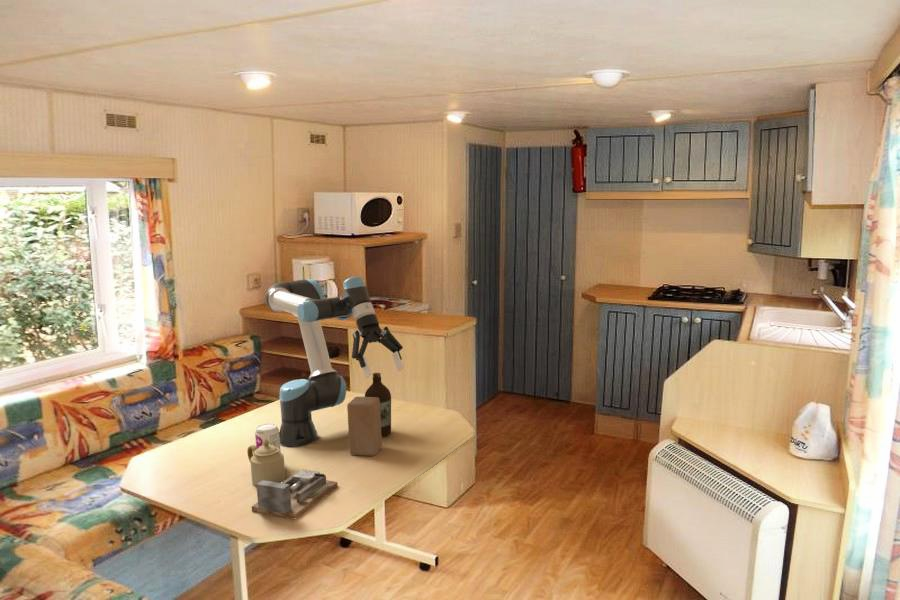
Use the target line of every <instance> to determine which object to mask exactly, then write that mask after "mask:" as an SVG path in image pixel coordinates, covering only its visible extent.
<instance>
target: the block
mask: <svg viewBox="0 0 900 600" xmlns="http://www.w3.org/2000/svg"><path fill="white" fill-rule="evenodd" d="M346 406H347V411H346V412H347V425H348V443H349V444H348V445H349V455H351V456H367V457H369V456H371V457H373V456H376V455H377V453H378V452H379V451H380V449H381V448H382V446H383V443H382V442H383V440H382V438H383V437H382V436H381V416H380V399H379V398H378V397H365V396H355V397H353V399H352V400H351V401H349V402H348V403H347V405H346Z"/></svg>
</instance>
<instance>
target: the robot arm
mask: <svg viewBox="0 0 900 600" xmlns="http://www.w3.org/2000/svg"><path fill="white" fill-rule="evenodd" d="M342 285H343V290H344V292H343V293H342V295H341V296H336V297H335V296H334V297H329V298H327V297H326V298H324V293H323V289H322V287H321V285H320V283H319V282H318V281H316V280H315V279H312V278H311V279H303V278H302V279H297V280H290V281H289V280H288V281H280V282H277V283H274V284H272V285H271V286H270V287H268V289H267V290H266V292H265V294H264V300H265V301H264V302H265V304H266V306H267V307H268V308H269V309H271V311H274V312H276V313H282V312H286V313H289V314H292V316H294V317H296V318H297V321H298V325H299V328H300V332H301V333H300V334H301V337H302V342H303V346H304V348H305V349H304V350H305V353H306V357H307V362H308V366H309V370H310V375H309V377H308V379H305V378H300V379H292V380H291V381H288V382H285V383H283V384H282V385H281V387H280V389H279V398H278V399H279V404H280V416H281V418H280V419H281V425H280V428H279V437H280V446H281V445H282V446H284V447H301V446H307V445H309V444H312V443H314V442H316V441H317V439H318V432H317V429H316V427H315V426H316V425H315V424H314V422H313V418H312V412H316V411H319V410H324V409H327V408H333V407H335V406H339V405H341V404H343V403H344V401H345V400H346V396H347V383H346V381H345V379H344V376H342V375H338V371H337V370H335V369H334V367H333V368H332V362H331V359H330V355H329V351H328V347H327V342H326V338H325V335H324V332H323V327H322V323H321V321H323V320H329V319H330V320H331V319H337V320H340V321H347V320H349V319H350V318H351V317H353V318H354V321H355V324H356V327H357V329H358V330H355V331H354V332H353V333H352V337H353V341H352V342H353V343H352V351H351V358H352V359H355V360H356V361H357V362H358V363H359V366H360V368H361V369H363V372H364V375H365V378H368V377H370V376H371V375H373V372H372V370H371V368H370V365H369V362H368V358H367V356H364V355H365V353H366V350H367V347H368V344H372V343H379V344H381V345H382V346H384V347H385V348H386V349H388V351H390V352H392V355H391V356H392V359H393V361H394V364H395V367H396V369H397V371H398V372H400V371H402V370H403V369H404V365H403V362H402V360H403V359H402V356H401V355H402V354H401V352H400V351H402V350H403V349H404V346H403V345H402V344H401V343H400V342H399V341H398V340H397V338H396V337H395V336H394V335H393V333H391V332H390V330H389V327H388V326H384V327H383V328H381V327H380V323H379V320H378V317H377V314H376V311H375V309H374V306H373V303H372V301H371V297H370V295H369V291H368V289H367V285H366V284H365V281H364V279H363V278H362V277H361V276H352V277H348V278H346V279H345V280H344V281H343V284H342ZM361 337H362V342H361V346H360V340H361Z"/></svg>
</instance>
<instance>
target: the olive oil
mask: <svg viewBox="0 0 900 600" xmlns="http://www.w3.org/2000/svg"><path fill="white" fill-rule="evenodd" d="M381 375H382V374H381V372H372V383H371V385H369V387H368V388H367V389H366V391H365V394H364V397H378V398H379V399H380V416H381V436H382V438H385V437H387V436H388V437H389V436H390V435H391V434H392V394H391V392H390V389H389V388H388V387H387V386H386V385H384V383H383V382H382V376H381Z"/></svg>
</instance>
